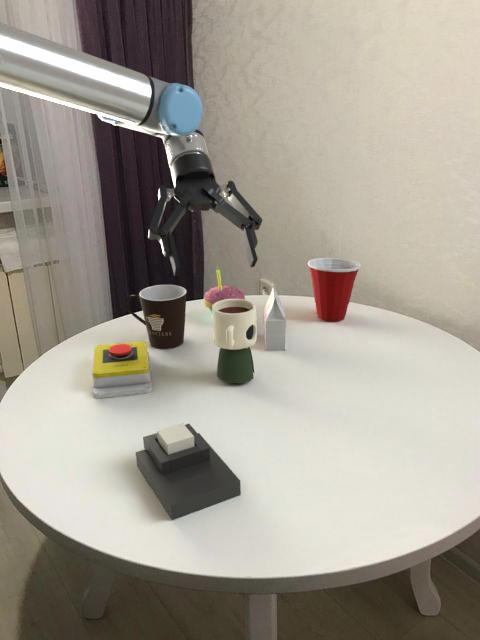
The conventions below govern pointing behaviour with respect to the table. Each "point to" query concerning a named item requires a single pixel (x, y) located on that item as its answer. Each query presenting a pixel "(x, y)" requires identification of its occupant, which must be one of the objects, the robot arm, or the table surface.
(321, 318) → the plastic cup
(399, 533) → the table surface
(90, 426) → the table surface
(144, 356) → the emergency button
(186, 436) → the small white rectangular block
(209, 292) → the cupcake
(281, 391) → the table surface
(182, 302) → the coffee mug
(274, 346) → the small milk carton
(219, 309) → the character mug
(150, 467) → the button base
